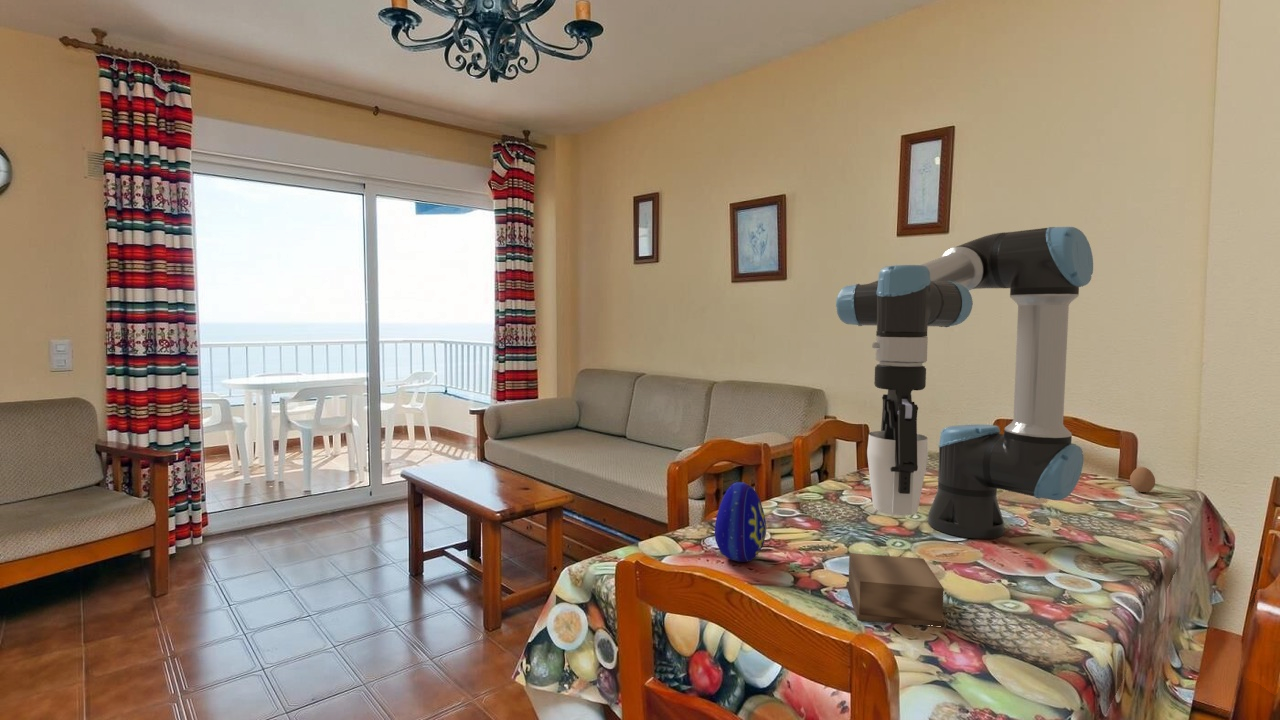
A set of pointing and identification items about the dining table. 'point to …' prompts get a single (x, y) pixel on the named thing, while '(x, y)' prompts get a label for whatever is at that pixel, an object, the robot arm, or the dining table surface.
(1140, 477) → the egg
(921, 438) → the cup
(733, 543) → the ornament
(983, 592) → the dining table surface
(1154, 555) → the dining table surface
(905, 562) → the riser
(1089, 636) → the dining table surface
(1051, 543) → the dining table surface
